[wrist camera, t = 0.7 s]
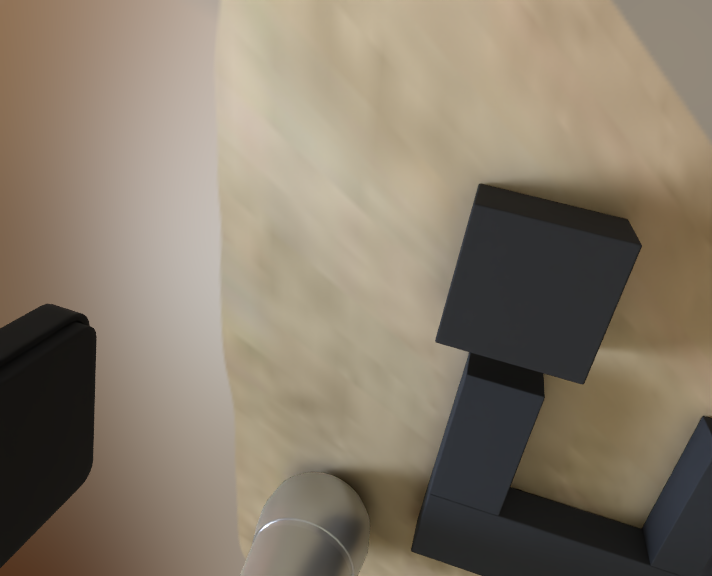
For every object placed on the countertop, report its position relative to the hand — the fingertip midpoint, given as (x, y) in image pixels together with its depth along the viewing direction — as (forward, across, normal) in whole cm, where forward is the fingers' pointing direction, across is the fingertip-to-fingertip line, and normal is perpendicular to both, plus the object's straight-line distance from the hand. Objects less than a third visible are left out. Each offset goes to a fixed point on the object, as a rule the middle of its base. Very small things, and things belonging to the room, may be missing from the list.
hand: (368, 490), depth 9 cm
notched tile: (+21, -10, +14) cm, 27 cm away
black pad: (+21, -4, +3) cm, 21 cm away
